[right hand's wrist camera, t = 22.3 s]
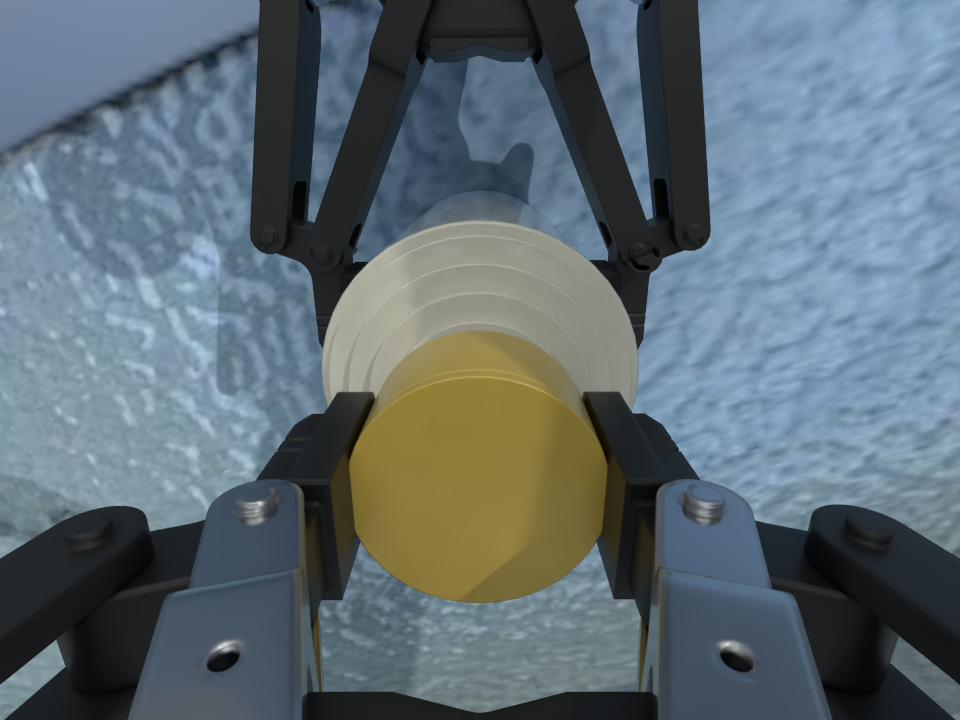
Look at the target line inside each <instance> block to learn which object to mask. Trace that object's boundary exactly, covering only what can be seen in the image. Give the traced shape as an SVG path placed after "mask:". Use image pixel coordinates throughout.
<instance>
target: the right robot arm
mask: <svg viewBox="0 0 960 720" xmlns="http://www.w3.org/2000/svg"><path fill="white" fill-rule="evenodd" d="M375 400H376V399H375V395H374V393H373V392H337V394H336V395H335V397H334V399H333V400H332V402H331V403H330V405H329V407H328V408H327V410H326V412H325V413H324V414H311V415H310V416H308V417H307V418H305V419H303V420H302V421H300V422H299V423H297V424H296V425H294V427H293V428H292V429H291V431H290V432H289V434H288V435H287V437H286V438H285V441H283V442H282V444H281V445H280V447H279V448H278V452H275V454H274V455H273V457H272V458H271V459H270V461H269V462H268V464H267V465H266V467H265V468H264V469H263V471H262V472H261V474H260V475H259V477H258V478H257V479H256V481H253V482H249V483H245V484H242V485H239V486H237V487H234V488H232V489H230V490H228V491H227V492H225V493H223V494H222V495H220V496H219V497H218V498H217V499H216V500H215V501H214V502H213V503H212V504H211V505H210V507H209V509H208V512H207V515H206V519H205V520H203V521H199V522H196V523H191V524H187V525H182V526H177V527H171V528H166V529H161V530H156V531H151V532H150V530H149V526H148V522H147V518H146V515H145V514H144V513H143V512H142V511H141V510H139V509H137V508H134V507H128V506H111V507H104V508H99V509H94V510H90V511H87V512H84V513H81V514H78V515H75V516H73V517H70V518H68V519H66V520H64V521H62V522H60V523H58V524H57V525H55V526H53V527H51V528H50V529H48V530H46V531H45V532H43V533H42V534H40V535H38V536H37V537H35V538H33V539H32V540H30V541H28V542H27V543H25V544H24V545H22V546H20V547H19V548H17V549H15V550H14V551H12V552H10V553H9V554H7V555H6V556H4V557H2V558H1V559H0V684H1V683H3V682H4V681H5V680H6V679H8V678H9V677H10V676H11V675H13V674H14V673H15V672H16V671H18V670H19V669H20V668H21V667H23V666H24V665H25V664H26V663H28V662H29V661H30V660H31V659H33V658H34V657H35V656H36V655H37V654H39V653H40V652H41V651H42V650H44V649H45V648H46V647H47V646H49V645H50V644H51V643H52V642H54V641H55V640H57V643H58V646H59V649H60V651H61V654H62V657H63V660H64V663H65V666H66V667H65V668H64V669H63V670H61V671H60V672H59V673H58V674H57V675H56V676H55V677H53V678H52V679H51V680H50V681H49V682H48V683H46V684H45V685H44V686H43V687H42V688H41V689H39V690H38V691H37V692H36V693H35V694H34V695H33V696H31V697H30V698H29V699H28V700H27V701H26V702H24V703H23V704H22V705H21V706H20V707H19V708H18V709H16V710H15V711H14V712H13V713H12V714H11V715H9V716H8V717H7V718H6V719H5V720H955V719H954V718H953V717H952V716H951V715H949V714H948V713H947V712H946V711H945V710H944V709H942V708H941V707H940V706H939V705H938V704H937V703H936V702H934V701H933V700H932V699H931V698H930V697H929V696H927V695H926V694H925V693H924V692H923V691H922V690H920V689H919V688H918V687H917V686H916V685H915V684H914V683H912V682H911V681H910V680H909V679H908V678H907V677H905V676H904V675H903V674H902V673H901V672H900V671H899V670H897V669H896V668H895V667H894V666H893V665H892V664H890V660H891V657H892V654H893V651H894V648H895V646H896V643H897V640H898V637H899V636H900V637H901V638H903V639H904V640H905V641H906V642H908V643H909V644H910V645H911V646H913V647H914V648H915V649H916V650H918V651H919V652H920V653H921V654H922V655H924V656H925V657H926V658H927V659H929V660H930V661H931V662H932V663H934V664H935V665H936V666H937V667H939V668H940V669H941V670H942V671H944V672H945V673H946V674H947V675H949V676H950V677H951V678H952V679H954V680H955V681H956V682H957V683H959V684H960V559H959V558H958V557H956V556H954V555H953V554H951V553H950V552H948V551H946V550H945V549H943V548H941V547H940V546H938V545H936V544H935V543H933V542H932V541H930V540H928V539H927V538H925V537H923V536H922V535H920V534H918V533H917V532H915V531H914V530H912V529H910V528H909V527H907V526H905V525H904V524H902V523H900V522H898V521H897V520H895V519H892V518H890V517H888V516H886V515H883V514H881V513H878V512H875V511H872V510H869V509H865V508H861V507H856V506H850V505H826V506H823V507H820V508H818V509H816V510H815V511H814V512H813V513H812V516H811V520H810V524H809V528H808V531H804V530H798V529H793V528H788V527H783V526H778V525H772V524H767V523H763V522H759V521H755V519H754V515H753V511H752V509H751V507H750V505H749V504H748V503H747V502H746V501H745V500H744V499H743V498H742V497H741V496H740V495H738V494H737V493H735V492H733V491H732V490H730V489H728V488H726V487H723V486H721V485H718V484H715V483H711V482H707V481H702V480H700V479H699V477H698V476H697V474H696V473H695V472H694V470H693V469H692V467H691V466H690V464H689V463H688V461H687V460H686V458H685V457H684V456H683V454H682V453H681V452H679V448H678V447H677V445H676V444H675V442H674V441H673V440H671V437H670V435H669V434H668V432H667V431H666V429H665V428H664V427H663V425H662V424H660V423H659V422H657V421H656V420H654V419H652V418H651V417H649V416H648V415H646V414H633V413H632V412H631V410H630V408H629V407H628V405H627V403H626V402H625V400H624V398H623V397H622V395H621V393H620V392H619V391H584V393H583V395H582V400H583V402H584V405H585V407H586V410H587V412H588V415H589V417H590V420H591V422H592V424H593V427H594V429H595V432H596V434H597V437H598V439H599V442H600V444H601V447H602V449H603V452H604V455H605V457H606V460H607V463H608V470H607V482H606V493H605V503H604V514H603V525H602V532H601V534H600V536H599V538H598V540H597V541H596V542H597V545H598V548H599V552H600V555H601V558H602V561H603V565H604V568H605V571H606V575H607V578H608V581H609V584H610V588H611V591H612V594H613V598H614V599H635V602H636V605H637V608H638V610H639V613H640V615H641V620H640V628H639V642H638V662H637V681H636V692H565V693H561V694H557V695H553V696H549V697H545V698H541V699H537V700H534V701H530V702H526V703H522V704H518V705H514V706H510V707H506V708H502V709H498V710H494V711H490V712H485V713H475V712H470V711H466V710H462V709H458V708H454V707H450V706H446V705H442V704H438V703H434V702H430V701H426V700H423V699H419V698H415V697H411V696H407V695H403V694H399V693H395V692H324V681H323V661H322V642H321V627H320V620H319V612H318V608H319V605H320V602H321V600H342V599H343V596H344V593H345V589H346V586H347V583H348V580H349V577H350V573H351V570H352V567H353V564H354V561H355V557H356V554H357V551H358V548H359V545H360V539H359V538H358V536H357V534H356V531H355V522H354V511H353V501H352V490H351V480H350V469H349V459H350V457H351V454H352V452H353V449H354V447H355V444H356V442H357V440H358V438H359V435H360V433H361V431H362V429H363V426H364V424H365V422H366V420H367V418H368V415H369V413H370V411H371V409H372V407H373V404H374V402H375Z"/></svg>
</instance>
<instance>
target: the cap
mask: <svg viewBox="0 0 960 720" xmlns="http://www.w3.org/2000/svg"><path fill="white" fill-rule="evenodd" d="M349 469H350V480H351V490H352V501H353V511H354V522H355V531H356V534H357V536H358V538H359V539H360V541H361V543H362V545H363V546H364V547H365V549H366V550H367V551H368V553H369V554H370V555H371V557H372V558H373V559H374V560H375V561H376V562H377V563H378V564H379V565H380V566H381V567H382V568H383V569H385V570H386V571H387V572H388V573H390V574H391V575H392V576H394V577H395V578H396V579H398V580H400V581H401V582H403V583H405V584H406V585H408V586H410V587H412V588H414V589H416V590H419V591H421V592H423V593H426V594H429V595H432V596H435V597H438V598H442V599H447V600H451V601H458V602H467V603H490V602H501V601H506V600H511V599H516V598H519V597H523V596H526V595H529V594H532V593H534V592H537V591H539V590H541V589H544V588H546V587H548V586H549V585H551V584H553V583H555V582H556V581H558V580H560V579H561V578H562V577H564V576H565V575H567V574H568V573H569V572H571V571H572V570H573V569H574V568H575V567H576V566H577V565H578V564H579V563H580V562H581V561H582V560H583V559H584V558H585V557H586V555H587V554H588V553H589V552H590V551H591V549H592V548H593V546H594V545H595V543H596V541H597V540H598V538H599V536H600V534H601V532H602V525H603V514H604V503H605V493H606V482H607V470H608V463H607V460H606V457H605V455H604V452H603V449H602V447H601V444H600V442H599V439H598V437H597V434H596V432H595V429H594V427H593V424H592V422H591V420H590V417H589V415H588V412H587V410H586V407H585V405H584V402H583V400H582V397H581V395H580V393H579V390H578V388H577V387H576V385H575V383H574V381H573V379H572V378H571V377H570V375H569V374H568V373H567V371H566V370H565V369H564V367H563V366H562V365H561V364H560V363H559V362H558V361H557V360H556V359H555V358H553V357H552V356H551V355H549V354H548V353H547V352H546V351H544V350H543V349H541V348H539V347H538V346H536V345H534V344H532V343H531V342H528V341H526V340H523V339H521V338H519V337H516V336H512V335H508V334H504V333H499V332H492V331H467V332H458V333H454V334H450V335H446V336H442V337H440V338H437V339H434V340H432V341H429V342H428V343H426V344H424V345H422V346H420V347H418V348H417V349H415V350H414V351H413V352H411V353H410V354H408V355H407V356H406V357H405V358H404V359H403V360H402V361H401V362H399V363H398V364H397V365H396V366H395V368H394V369H393V370H392V372H391V373H390V374H389V375H388V377H387V378H386V380H385V382H384V384H383V385H382V387H381V389H380V391H379V393H378V395H377V398H376V400H375V402H374V404H373V407H372V409H371V411H370V413H369V415H368V418H367V420H366V422H365V424H364V426H363V429H362V431H361V433H360V435H359V438H358V440H357V442H356V444H355V447H354V449H353V452H352V454H351V457H350V459H349Z"/></svg>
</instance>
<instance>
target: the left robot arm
mask: <svg viewBox="0 0 960 720" xmlns="http://www.w3.org/2000/svg"><path fill="white" fill-rule="evenodd" d="M259 1H260V16H259V40H258V63H257V86H256V109H255V133H254V156H253V179H252V202H251V226H250V235H251V241H252V243H253V244H254V246H255V247H256V248H257V249H258V250H259V251H261V252H263V253H266V254H275V253H277V254H280V255H283V256H286V257H288V258H291V259H294V260H297V261H299V262H301V263H302V264H303V265H304V266H305V267H306V268H307V269H308V270H309V272H310V274H311V277H312V282H313V291H314V300H315V309H316V315H317V326H318V335H319V342H320V344H321V346H322V348H323V346H324V341H325V335H326V331H327V328H328V325H329V322H330V319H331V316H332V314H333V311H334V309H335V307H336V305H337V303H338V302H339V300H340V298H341V296H342V294H343V292H344V291H345V290H346V288H347V287H348V285H349V284H350V283H351V281H352V280H353V279H354V277H355V276H356V275H357V274H358V273H359V272H360V271H361V270H362V269H363V268H364V267H365V266H366V265H367V264H368V263H369V262H355V263H354V264H353V255H354V254H355V253H356V251H357V250H358V249H357V248H356V245H357V242H358V240H359V237H360V234H361V232H362V229H363V226H364V224H365V221H366V218H367V215H368V213H369V210H370V207H371V205H372V202H373V199H374V197H375V194H376V191H377V188H378V186H379V183H380V180H381V178H382V175H383V172H384V170H385V167H386V164H387V162H388V159H389V156H390V153H391V151H392V148H393V145H394V143H395V140H396V137H397V135H398V132H399V129H400V126H401V124H402V121H403V118H404V116H405V113H406V110H407V108H408V105H409V102H410V99H411V97H412V94H413V92H414V90H415V89H416V87H417V85H418V83H419V81H420V78H421V76H422V73H423V70H424V68H425V65H426V62H427V60H428V57H429V58H432V59H433V61H434V63H435V62H459V61H462V60H465V59H469V58H472V57H475V56H484V57H487V58H490V59H494V60H497V61H501V62H524V61H525V59H526V58H527V57H530V58H531V60H532V63H533V65H534V68H535V70H536V73H537V76H538V78H539V80H540V83H541V85H542V86H543V88H544V89H545V91H546V93H547V96H548V98H549V101H550V103H551V106H552V109H553V111H554V114H555V116H556V119H557V121H558V124H559V127H560V129H561V132H562V134H563V137H564V139H565V142H566V145H567V147H568V150H569V152H570V155H571V158H572V160H573V163H574V165H575V168H576V170H577V173H578V176H579V178H580V181H581V183H582V186H583V188H584V191H585V194H586V196H587V199H588V201H589V204H590V207H591V209H592V212H593V214H594V217H595V219H596V222H597V225H598V227H599V230H600V232H601V235H602V238H603V240H604V243H605V245H606V248H607V250H608V252H609V253H608V262H607V261H606V260H589V261H590V262H591V263H592V264H594V265H595V267H596V268H597V269H598V270H599V271H600V272H601V273H602V274H603V275H604V277H605V278H606V279H607V280H608V281H609V282H610V284H611V285H612V287H613V288H614V290H615V291H616V293H617V294H618V296H619V297H620V299H621V301H622V303H623V305H624V307H625V310H626V312H627V314H628V316H629V318H630V321H631V325H632V328H633V331H634V334H635V339H636V345H637V350H638V348H639V346H640V344H641V342H642V340H643V334H644V323H645V312H646V304H647V294H648V284H649V276H650V273H651V272H653V271H654V270H656V269H657V268H658V266H659V265H660V264H661V262H662V259H663V258H665V257H667V256H670V255H672V254H675V253H678V252H681V251H684V250H687V251H694V250H697V249H699V248H701V247H702V246H703V245H705V244H706V242H707V241H708V239H709V237H710V231H711V227H710V210H709V192H708V175H707V157H706V140H705V122H704V105H703V87H702V70H701V52H700V34H699V17H698V0H630V1H632V2H633V3H636V4H639V7H638V15H637V46H638V57H639V68H640V79H641V90H642V101H643V112H644V123H645V134H646V145H647V155H648V166H649V177H650V188H651V199H652V210H653V218H651V219H648V220H646V218H645V215H644V212H643V209H642V207H641V204H640V201H639V198H638V195H637V193H636V190H635V187H634V184H633V181H632V179H631V176H630V173H629V170H628V167H627V165H626V162H625V159H624V156H623V153H622V151H621V148H620V145H619V142H618V139H617V137H616V134H615V131H614V128H613V125H612V123H611V120H610V117H609V114H608V111H607V108H606V106H605V103H604V100H603V97H602V94H601V92H600V89H599V86H598V83H597V80H596V78H595V75H594V72H593V69H592V66H591V62H590V52H589V47H588V44H587V41H586V38H585V35H584V32H583V29H582V27H581V24H580V21H579V18H578V15H577V12H576V10H575V7H574V5H575V4H576V2H577V1H578V0H379V1H380V3H381V4H382V6H383V7H384V8H383V11H382V14H381V17H380V20H379V23H378V26H377V29H376V32H375V35H374V38H373V41H372V44H371V47H370V52H369V61H368V67H367V70H366V73H365V76H364V79H363V82H362V85H361V88H360V91H359V94H358V97H357V100H356V103H355V106H354V109H353V112H352V115H351V118H350V120H349V123H348V126H347V129H346V132H345V135H344V138H343V141H342V144H341V147H340V150H339V153H338V156H337V159H336V162H335V165H334V167H333V170H332V173H331V176H330V179H329V182H328V185H327V188H326V191H325V194H324V197H323V200H322V203H321V206H320V209H319V212H318V214H317V217H316V220H315V223H313V222H310V221H307V218H308V206H309V193H310V180H311V167H312V154H313V141H314V128H315V115H316V102H317V89H318V77H319V64H320V51H321V21H320V12H319V7H320V6H323V5H325V4H326V3H327V2H329V1H330V0H259Z"/></svg>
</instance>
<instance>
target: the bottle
mask: <svg viewBox="0 0 960 720" xmlns="http://www.w3.org/2000/svg"><path fill="white" fill-rule="evenodd" d="M467 331H492V332H499V333H504V334H508V335H512V336H516V337H519V338H521V339H523V340H526V341H528V342H531V343H532V344H534V345H536V346H538V347H539V348H541V349H543V350H544V351H546V352H547V353H548V354H549V355H551V356H552V357H553V358H555V359H556V360H557V361H558V362H559V363H560V364H561V365H562V366H563V367H564V369H565V370H566V371H567V373H568V374H569V375H570V377H571V378H572V379H573V381H574V383H575V385H576V387H577V388H578V390H579V393H580V395H581V397H582V395H583V393H584V391H619V392H620V393H621V395H622V397H623V398H624V400H625V402H626V403H627V405H628V407H629V408H630V410H631V411H632V408H633V404H634V400H635V397H636V391H637V384H638V376H639V373H638V351H637V345H636V339H635V334H634V331H633V328H632V325H631V321H630V318H629V316H628V314H627V312H626V310H625V307H624V305H623V303H622V301H621V299H620V297H619V296H618V294H617V293H616V291H615V290H614V288H613V287H612V285H611V284H610V282H609V281H608V280H607V279H606V278H605V277H604V275H603V274H602V273H601V272H600V271H599V270H598V269H597V268H596V267H595V265H594V264H592V263H591V262H590V261H589V260H588V259H587V258H586V257H585V256H584V255H583V254H582V253H581V252H580V251H579V250H578V249H577V248H576V247H575V246H574V245H573V244H572V243H571V242H569V241H568V240H567V239H566V238H565V237H564V236H563V235H562V234H561V233H560V232H559V231H558V230H557V229H556V228H555V227H554V226H553V225H552V224H551V223H550V222H549V221H547V220H546V219H545V218H544V217H543V216H542V215H541V214H540V213H539V212H538V211H537V210H535V209H534V208H533V207H532V206H530V205H529V204H527V203H525V202H524V201H522V200H520V199H518V198H516V197H514V196H511V195H508V194H504V193H501V192H495V191H488V190H476V191H467V192H463V193H459V194H455V195H452V196H450V197H448V198H445V199H443V200H441V201H440V202H438V203H436V204H434V205H433V206H432V207H430V208H429V209H428V210H427V211H425V212H424V213H423V214H422V215H421V216H420V217H419V218H417V219H416V220H415V221H414V222H413V223H412V224H411V225H410V226H409V227H407V228H406V229H405V230H404V231H403V232H402V233H401V234H400V235H398V236H397V237H396V238H395V239H394V240H393V241H392V242H391V243H390V244H388V245H387V246H386V247H385V248H384V249H383V250H382V251H381V252H380V253H378V254H377V255H376V256H375V257H374V258H373V259H372V260H371V261H370V262H369V263H368V264H367V265H366V266H365V267H364V268H363V269H362V270H361V271H360V272H359V273H358V274H357V275H356V276H355V277H354V279H353V280H352V281H351V283H350V284H349V285H348V287H347V288H346V290H345V291H344V292H343V294H342V296H341V298H340V300H339V302H338V303H337V305H336V307H335V309H334V311H333V314H332V316H331V319H330V322H329V325H328V328H327V331H326V335H325V341H324V346H323V352H322V380H323V390H324V394H325V398H326V403H327V407H329V405H330V403H331V402H332V400H333V399H334V397H335V395H336V394H337V392H373V393H374V395H375V399H376V398H377V395H378V393H379V391H380V389H381V387H382V385H383V384H384V382H385V380H386V378H387V377H388V375H389V374H390V373H391V372H392V370H393V369H394V368H395V366H396V365H397V364H398V363H399V362H401V361H402V360H403V359H404V358H405V357H406V356H407V355H408V354H410V353H411V352H413V351H414V350H415V349H417V348H418V347H420V346H422V345H424V344H426V343H428V342H429V341H432V340H434V339H437V338H440V337H442V336H446V335H450V334H454V333H458V332H467Z"/></svg>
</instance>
